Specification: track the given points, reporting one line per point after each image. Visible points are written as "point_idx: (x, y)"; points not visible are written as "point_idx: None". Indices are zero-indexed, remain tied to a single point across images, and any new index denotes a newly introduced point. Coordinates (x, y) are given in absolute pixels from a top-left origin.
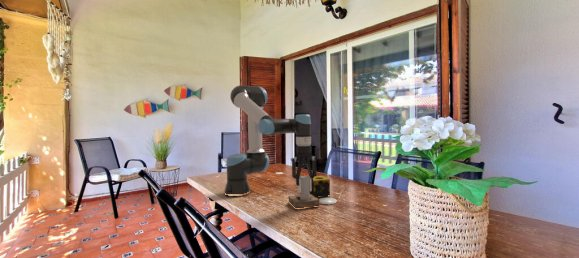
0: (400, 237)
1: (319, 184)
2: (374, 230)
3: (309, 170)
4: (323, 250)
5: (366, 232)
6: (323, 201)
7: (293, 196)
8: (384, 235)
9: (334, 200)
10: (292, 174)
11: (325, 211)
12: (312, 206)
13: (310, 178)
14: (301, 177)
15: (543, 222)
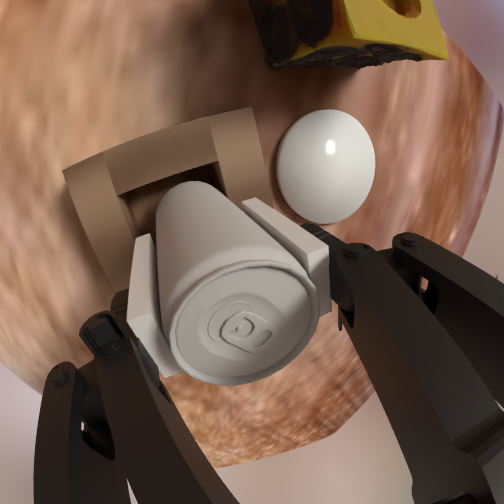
0: (359, 405)
1: (366, 46)
2: (341, 398)
3: (383, 400)
4: (224, 464)
5: (322, 410)
6: (310, 182)
7: (100, 175)
8: (343, 408)
9: (364, 174)
10: (53, 421)
11: None
12: None
13: (322, 313)
14: (197, 356)
15: None
